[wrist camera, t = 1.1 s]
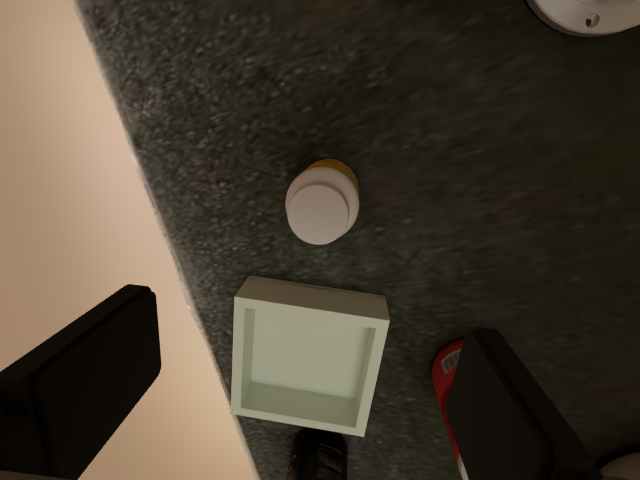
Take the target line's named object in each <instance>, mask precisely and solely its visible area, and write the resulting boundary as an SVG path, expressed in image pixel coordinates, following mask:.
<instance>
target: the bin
mask: <svg viewBox="0 0 640 480" xmlns="http://www.w3.org/2000/svg"><path fill="white" fill-rule="evenodd" d="M389 321H390V320H389V314H388V309H387V303H386V298H385V296H384V295H377V294H370V293H364V292H357V291H351V290H344V289H337V288H331V287H324V286H318V285H311V284H305V283H298V282H291V281H285V280H278V279H272V278H265V277H258V276H252V275H249V277H248V278H247V279H246V281H245V282H244V284H243V285H242V287H241V288H240V289H239V291H238V292H237V294H236V295H235V297H234V328H233V360H232V392H231V414H236V415H242V416H248V417H253V418H259V419H265V420H270V421H276V422H282V423H288V424H293V425H299V426H305V427H310V428H316V429H322V430H327V431H333V432H339V433H345V434H350V435H356V436H362V437H364V434H365V430H366V425H367V421H368V416H369V412H370V407H371V403H372V398H373V394H374V389H375V385H376V380H377V376H378V371H379V367H380V362H381V358H382V353H383V348H384V344H385V339H386V335H387V330H388V326H389Z"/></svg>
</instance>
